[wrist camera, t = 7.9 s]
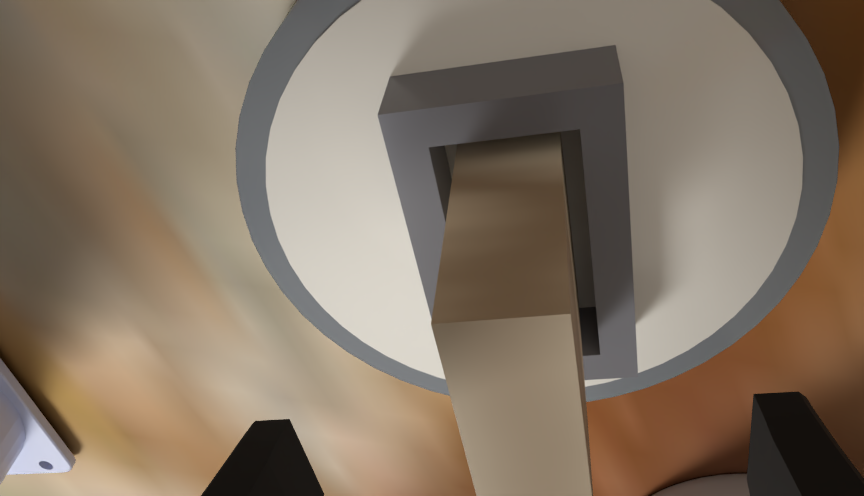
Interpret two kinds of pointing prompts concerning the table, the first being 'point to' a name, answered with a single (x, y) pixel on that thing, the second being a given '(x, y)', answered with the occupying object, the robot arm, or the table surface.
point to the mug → (710, 486)
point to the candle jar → (583, 160)
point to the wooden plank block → (513, 320)
